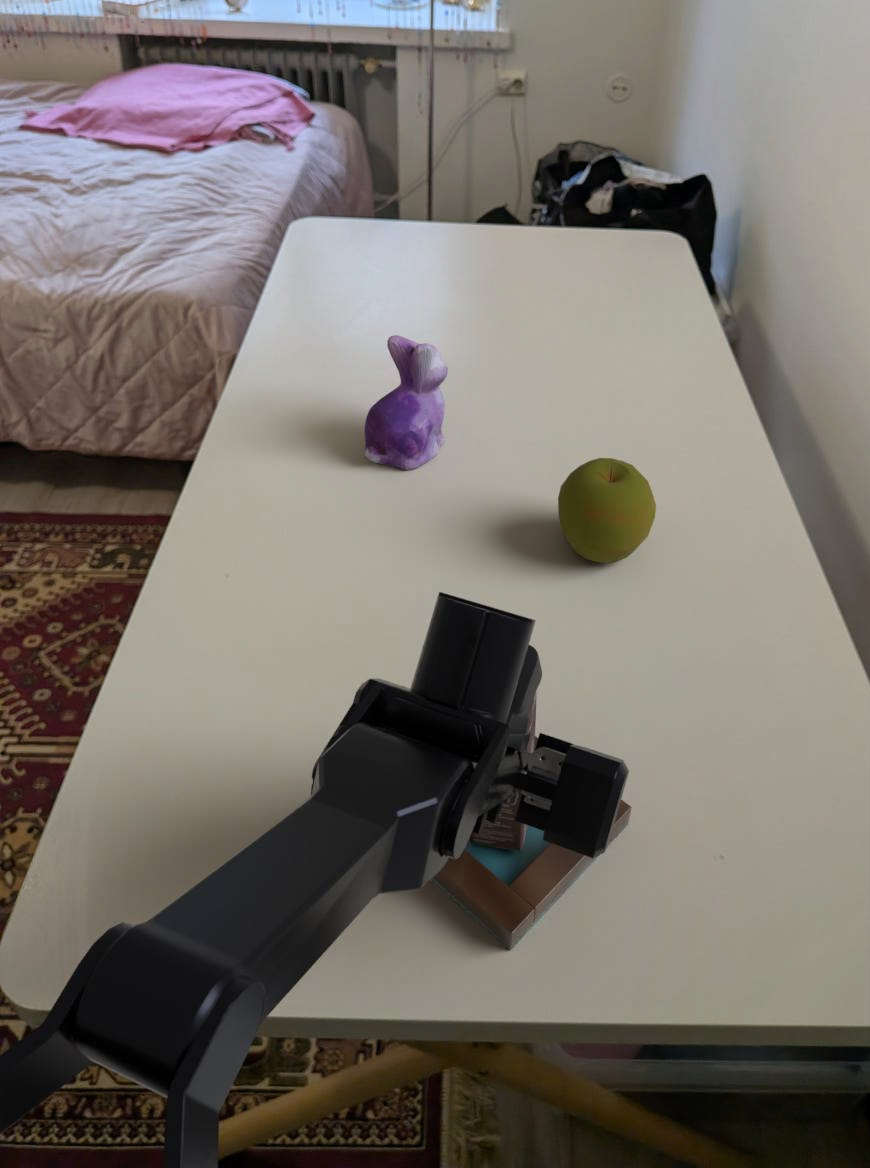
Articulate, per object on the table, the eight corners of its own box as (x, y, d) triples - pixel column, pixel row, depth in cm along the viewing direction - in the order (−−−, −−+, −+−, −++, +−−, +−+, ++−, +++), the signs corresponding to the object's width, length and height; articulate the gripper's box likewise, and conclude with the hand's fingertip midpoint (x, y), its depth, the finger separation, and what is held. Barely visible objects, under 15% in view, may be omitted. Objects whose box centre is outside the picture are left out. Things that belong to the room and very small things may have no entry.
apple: (536, 533, 102) (543, 448, 95) (612, 508, 106) (624, 425, 99) (587, 591, 96) (599, 505, 89) (666, 562, 99) (683, 477, 92)
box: (478, 780, 77) (481, 679, 70) (533, 789, 77) (542, 688, 69) (463, 845, 72) (465, 744, 65) (522, 855, 72) (531, 755, 64)
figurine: (448, 423, 118) (448, 313, 108) (445, 473, 110) (445, 358, 100) (371, 421, 118) (365, 310, 108) (363, 471, 110) (355, 356, 100)
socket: (510, 951, 67) (511, 934, 66) (366, 821, 75) (365, 803, 73) (628, 824, 75) (632, 806, 74) (487, 719, 83) (488, 701, 81)
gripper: (642, 691, 54) (659, 686, 69) (348, 599, 59) (424, 613, 74) (587, 884, 53) (617, 836, 68) (295, 774, 58) (382, 752, 73)
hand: (507, 752), depth 71 cm, fingers closed on box, 5 cm apart
